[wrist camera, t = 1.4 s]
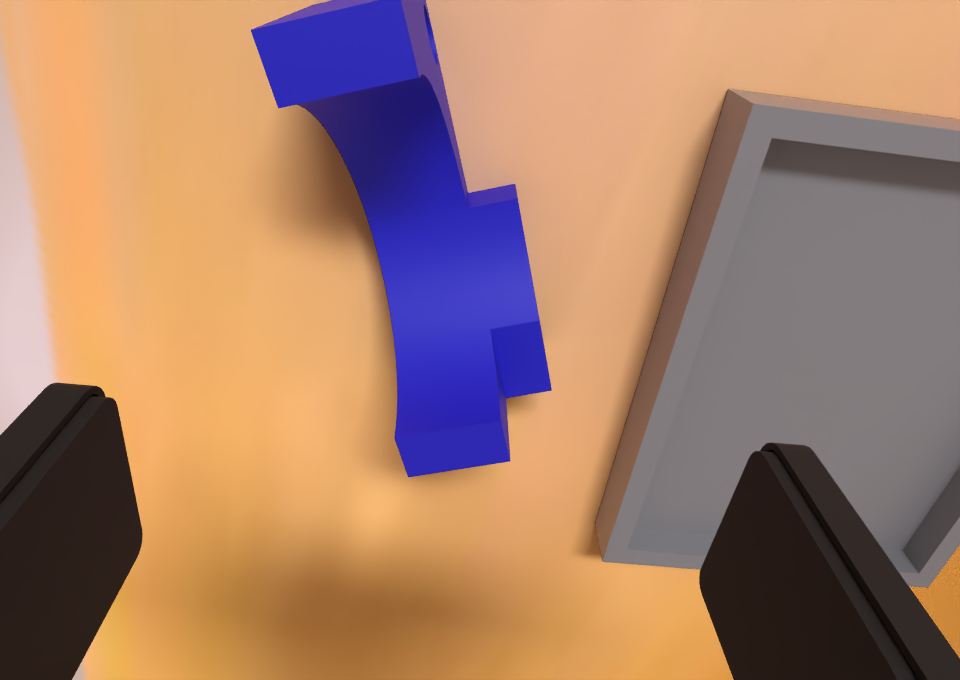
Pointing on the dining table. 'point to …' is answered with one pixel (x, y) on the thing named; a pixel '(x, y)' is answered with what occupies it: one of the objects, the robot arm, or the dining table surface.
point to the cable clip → (420, 224)
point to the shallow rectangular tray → (805, 333)
